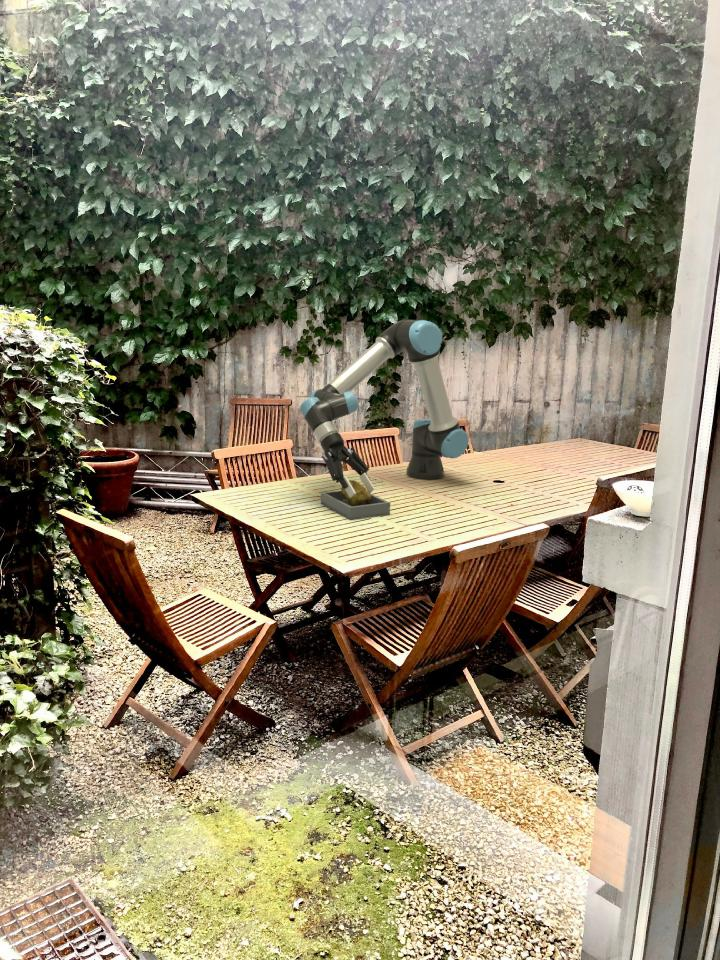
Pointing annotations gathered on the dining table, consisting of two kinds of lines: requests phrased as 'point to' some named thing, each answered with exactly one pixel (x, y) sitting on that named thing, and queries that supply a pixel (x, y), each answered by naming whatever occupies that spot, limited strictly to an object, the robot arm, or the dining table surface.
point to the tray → (342, 507)
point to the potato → (357, 495)
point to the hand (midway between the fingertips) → (362, 493)
